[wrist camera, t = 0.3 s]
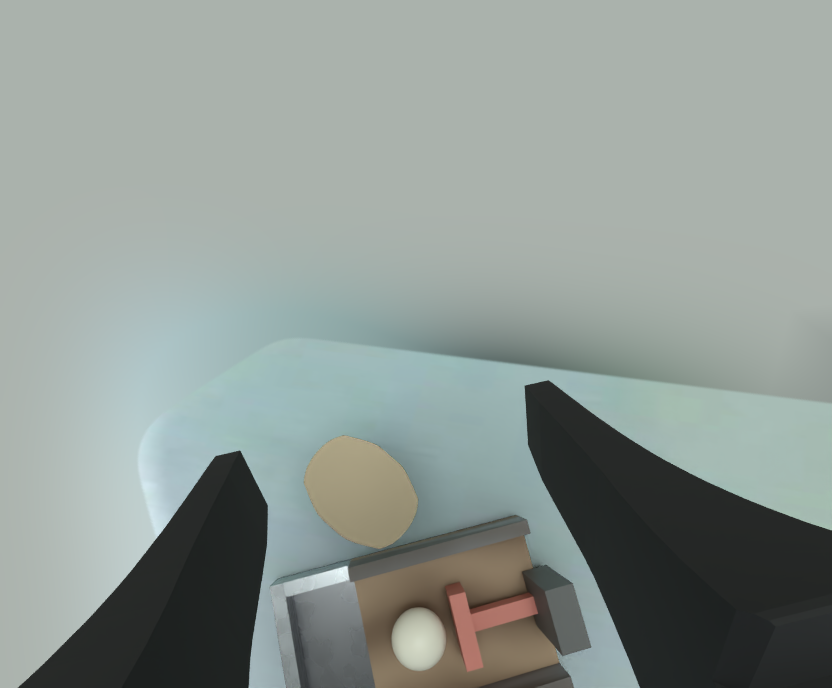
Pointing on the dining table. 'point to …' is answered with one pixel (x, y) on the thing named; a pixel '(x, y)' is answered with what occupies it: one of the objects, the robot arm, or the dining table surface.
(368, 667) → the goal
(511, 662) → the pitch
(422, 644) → the ball
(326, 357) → the dining table surface
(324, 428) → the dining table surface
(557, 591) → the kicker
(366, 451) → the handle
